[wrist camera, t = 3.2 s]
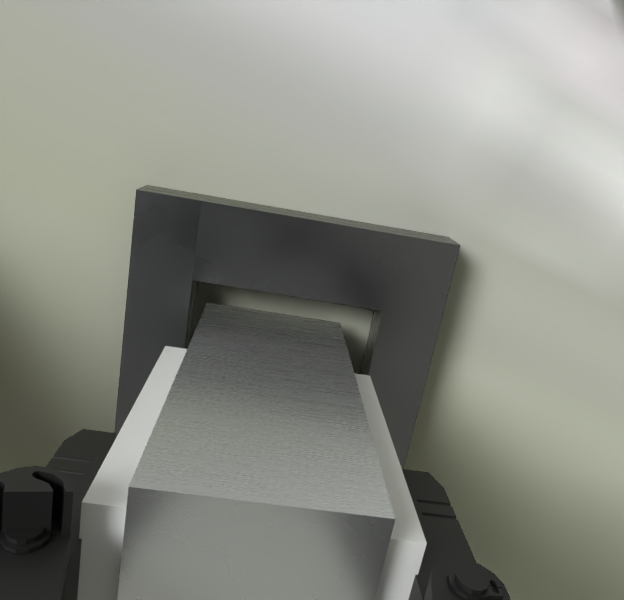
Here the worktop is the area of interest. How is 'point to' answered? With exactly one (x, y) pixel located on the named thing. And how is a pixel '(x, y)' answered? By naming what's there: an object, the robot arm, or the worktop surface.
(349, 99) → the worktop surface
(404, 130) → the worktop surface
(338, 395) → the steel peg
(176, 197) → the dark grey slotted board
